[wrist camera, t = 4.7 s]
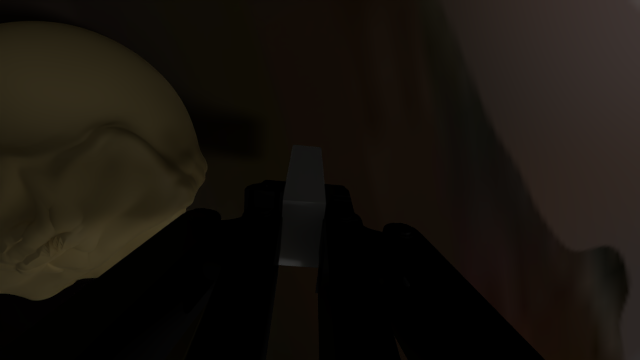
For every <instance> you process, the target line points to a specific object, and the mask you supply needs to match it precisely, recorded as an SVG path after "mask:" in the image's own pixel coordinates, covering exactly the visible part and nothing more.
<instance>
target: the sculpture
mask: <svg viewBox="0 0 640 360" xmlns="http://www.w3.org/2000/svg"><path fill="white" fill-rule="evenodd" d="M206 171H207V162H206V160H205V158H204V157H203V155H202V153H201V151H200V148H199V145H198V140H197V136H196V133H195V130H194V127H193V124H192V121H191V118H190V116H189V114H188V112H187V109H186V108H185V106H184V104H183V102H182V100H181V99H180V97H179V96H178V94H177V93H176V91H175V90H174V89H173V87H172V86H171V85H170V84H169V82H168V81H167V80H166V79H165V78H164V77H163V76H162V75H161V74H160V73H159V72H158V71H157V70H156V69H155V68H154V67H153V66H152V65H150V64H149V63H148V62H147V61H146V60H144V59H143V58H142V57H140V56H139V55H137V54H136V53H135V52H133V51H132V50H130V49H128V48H127V47H125V46H123V45H122V44H120V43H118V42H116V41H114V40H112V39H110V38H108V37H106V36H103V35H101V34H98V33H96V32H93V31H90V30H87V29H84V28H81V27H77V26H73V25H68V24H63V23H57V22H47V21H18V22H8V23H1V24H0V294H12V295H17V296H21V297H24V298H27V299H30V300H44V299H47V298H50V297H52V296H54V295H56V294H57V293H59V292H60V291H62V290H63V289H64V288H66V287H69V286H71V285H72V284H74V283H75V282H76V280H79V279H84V278H98V277H99V276H100V275H102V274H103V273H104V272H106V271H107V270H108V269H110V268H111V267H112V266H114V265H115V264H116V263H118V262H119V261H120V260H122V259H123V258H124V257H126V256H127V255H128V254H130V253H131V252H132V251H134V250H135V249H136V248H138V247H139V246H140V245H142V244H143V243H144V242H146V241H147V240H148V239H150V238H151V237H152V236H154V235H155V234H156V233H158V232H159V231H160V230H162V229H163V228H164V227H166V226H167V225H168V224H170V223H171V222H172V221H173V220H175V219H176V218H177V217H179V216H180V215H181V214H183V213H185V212H186V207H188V206H190V205H191V204H192V203H193V200H194V197H195V195H196V193H197V190H198V189H199V187H200V186H201V185H202V184H203V183H204V181H205V173H206Z"/></svg>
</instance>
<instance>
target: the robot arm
mask: <svg viewBox="0 0 640 360" xmlns="http://www.w3.org/2000/svg"><path fill="white" fill-rule="evenodd" d="M318 264H319V269H318V277H317V285H316V293H318V320H319V360H401V359H400V355H399V352H398V348H397V345H396V341H395V338H394V336H395V337H396V339H397V341H398V343H399V345H400V346H401V348H402V350H403V352H404V354H405V355H406V357H407V359H408V360H545V359H544V358H543V357H542V356H541V355H540V354H539V353H538V352H537V351H536V350H535V349H534V348H533V347H532V346H531V345H530V344H529V343H528V342H527V341H526V340H525V339H524V338H523V337H522V336H521V335H520V334H519V333H518V332H517V331H516V330H515V329H514V328H513V327H512V326H511V325H510V324H509V323H508V322H507V321H506V320H505V319H504V318H503V317H502V316H501V315H500V314H499V313H498V312H497V310H496V309H495V308H494V307H493V306H492V305H491V304H490V303H489V302H488V301H487V300H486V299H485V298H484V297H483V296H482V295H481V294H480V293H479V292H478V291H477V290H476V289H475V288H474V287H473V286H472V285H471V284H470V283H469V282H468V281H467V280H466V279H465V278H464V277H463V276H462V275H461V274H460V273H459V272H458V271H457V270H456V269H455V268H454V267H453V266H452V265H451V264H450V263H449V262H448V261H447V260H446V259H445V257H444V256H443V255H442V254H441V253H440V252H439V251H438V250H437V249H436V248H435V247H434V246H433V245H432V244H431V243H430V242H429V241H428V240H427V239H426V238H425V237H424V236H423V235H422V234H421V233H420V232H419V231H418V230H416V229H415V228H413V227H411V226H409V225H407V224H403V223H390V224H387V225H385V226H384V228H383V232H380V231H376V230H372V229H369V228H367V227H365V226H363V223H362V220H361V218H360V217H359V216H358V215H357V214H355V213H354V209H353V206H352V202H351V198H350V194H349V191H348V190H347V189H346V188H345V187H344V186H340V185H329V184H324V175H323V164H322V153H321V148H320V147H310V146H299V145H293V148H292V153H291V158H290V164H289V169H288V174H287V180H286V182H285V181H273V180H265V181H263V182H262V183H258V184H252V185H250V186H247V187H246V189H245V205H244V213H243V215H242V217H240V218H236V219H230V220H221V216H220V214H219V213H218V212H217V211H214V210H211V209H205V208H200V209H199V208H198V209H194V210H190V211H187V212H185V213H183V214H181V215H180V216H179V217H177V218H176V219H175V220H173V221H172V222H171V223H170V224H168V225H167V226H166V227H164V228H163V229H162V230H160V231H159V232H158V233H156V234H155V235H154V236H152V237H151V238H150V239H148V240H147V241H146V242H144V243H143V244H142V245H140V246H139V247H138V248H136V249H135V250H134V251H132V252H131V253H130V254H128V255H127V256H126V257H124V258H123V259H122V260H120V261H119V262H118V263H116V264H115V265H114V266H112V267H111V268H110V269H108V270H107V271H106V272H104V273H103V274H102V275H100V276H99V277H98V278H96V279H95V280H94V281H92V282H91V283H90V284H88V285H87V286H86V287H84V288H83V289H82V290H80V291H79V292H78V293H76V294H75V295H74V296H72V297H71V298H70V299H69V300H67V301H66V302H65V303H63V304H62V305H61V306H59V307H58V308H57V309H55V310H54V311H53V312H51V313H50V314H49V315H47V316H46V317H45V318H43V319H42V320H41V321H39V322H38V323H37V324H35V325H34V326H33V327H31V328H30V329H29V330H27V331H26V332H25V333H23V334H22V335H21V336H19V337H18V338H17V339H15V340H14V341H13V342H11V343H10V344H9V345H7V346H6V347H5V348H3V349H2V350H1V351H0V360H165V358H166V357H167V356H168V354H169V353H170V352H171V350H172V349H173V348H174V346H175V345H176V344H177V342H178V341H179V340H180V338H181V337H182V336H183V334H184V333H185V332H186V330H187V329H188V328H189V326H190V325H191V324H192V322H193V321H194V320H195V318H196V317H197V316H198V314H199V313H200V312H201V310H202V309H203V308H204V306H205V305H206V304H207V305H206V308H205V310H204V313H203V315H202V318H201V320H200V323H199V325H198V328H197V330H196V333H195V335H194V338H193V340H192V343H191V345H190V348H189V350H188V353H187V355H186V358H185V360H266V353H267V346H268V339H269V333H270V326H271V319H272V312H273V305H274V298H275V291H276V284H277V277H278V265H288V266H302V267H317V268H318ZM207 302H208V303H207Z"/></svg>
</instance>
